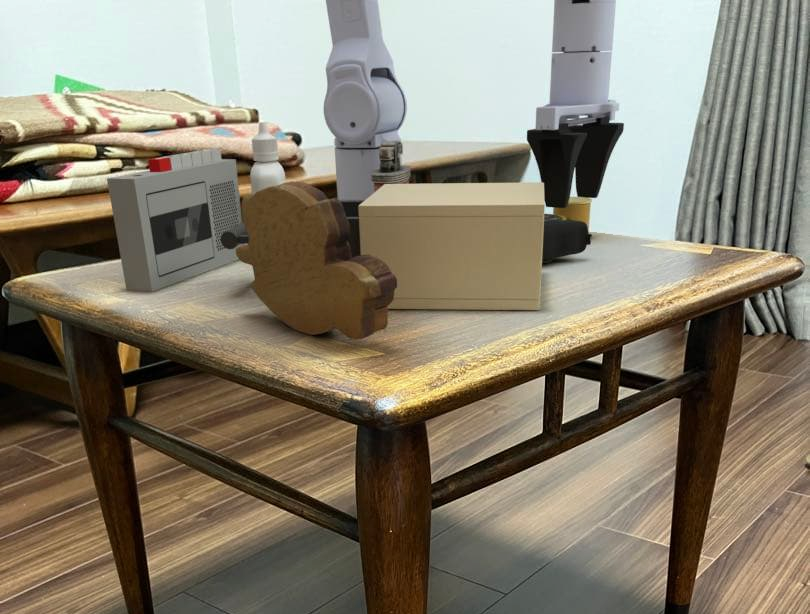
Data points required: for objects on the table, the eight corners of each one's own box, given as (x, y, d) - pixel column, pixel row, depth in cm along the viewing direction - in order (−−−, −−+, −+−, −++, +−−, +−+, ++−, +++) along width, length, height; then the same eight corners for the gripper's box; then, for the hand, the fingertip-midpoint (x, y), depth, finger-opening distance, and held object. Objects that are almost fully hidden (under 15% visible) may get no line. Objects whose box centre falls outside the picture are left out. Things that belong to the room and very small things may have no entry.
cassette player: (152, 291, 75) (131, 165, 70) (126, 289, 76) (104, 165, 71) (246, 256, 88) (234, 148, 83) (223, 255, 89) (209, 147, 84)
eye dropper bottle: (306, 247, 91) (296, 120, 85) (280, 258, 87) (268, 124, 81) (269, 246, 93) (257, 120, 87) (242, 256, 88) (227, 124, 82)
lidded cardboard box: (363, 308, 68) (358, 205, 65) (387, 274, 79) (384, 183, 75) (539, 310, 66) (544, 204, 63) (539, 274, 77) (543, 182, 74)
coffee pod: (550, 234, 95) (552, 196, 93) (588, 234, 94) (591, 196, 92) (551, 241, 91) (553, 202, 89) (590, 241, 91) (593, 202, 89)
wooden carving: (420, 344, 59) (417, 186, 54) (370, 360, 56) (362, 195, 52) (272, 306, 70) (259, 170, 65) (224, 317, 67) (206, 177, 62)
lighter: (401, 256, 86) (399, 145, 81) (368, 255, 87) (363, 145, 82) (417, 241, 93) (415, 138, 88) (386, 240, 94) (382, 138, 89)
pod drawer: (215, 294, 70) (205, 217, 67) (255, 264, 80) (248, 197, 77) (427, 295, 68) (426, 216, 65) (441, 265, 78) (441, 195, 75)
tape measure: (532, 270, 79) (534, 227, 77) (487, 258, 84) (488, 217, 82) (590, 261, 82) (593, 219, 80) (543, 249, 87) (545, 210, 85)
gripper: (589, 52, 77) (578, 214, 84) (649, 50, 88) (635, 195, 94) (518, 54, 81) (513, 209, 87) (583, 52, 91) (574, 191, 98)
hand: (572, 202), depth 91 cm, fingers open, 7 cm apart
